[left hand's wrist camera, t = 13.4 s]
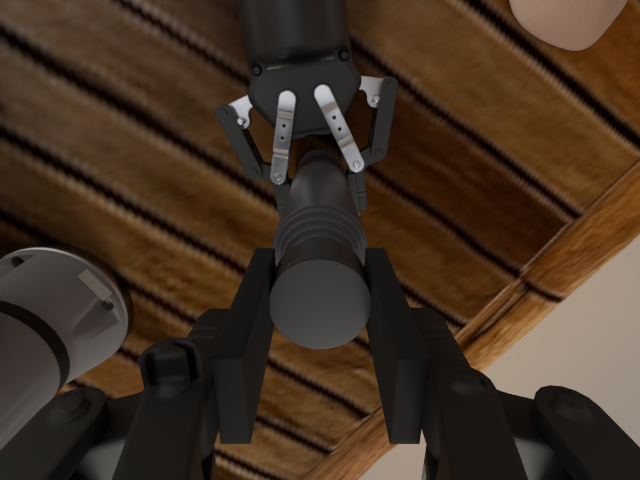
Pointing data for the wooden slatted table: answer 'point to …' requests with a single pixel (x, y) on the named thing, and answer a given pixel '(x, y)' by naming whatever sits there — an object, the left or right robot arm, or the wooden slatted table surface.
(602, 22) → the anatomical model
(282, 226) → the bottle
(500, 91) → the wooden slatted table surface
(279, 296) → the cap
